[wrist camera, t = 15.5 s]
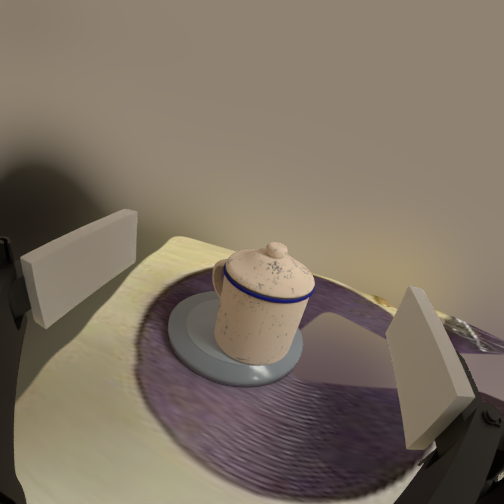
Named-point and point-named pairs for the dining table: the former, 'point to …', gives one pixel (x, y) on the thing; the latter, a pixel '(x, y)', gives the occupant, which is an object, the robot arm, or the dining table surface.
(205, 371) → the dish
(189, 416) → the dining table surface
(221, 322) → the teacup with lid
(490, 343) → the dining table surface
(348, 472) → the dining table surface
